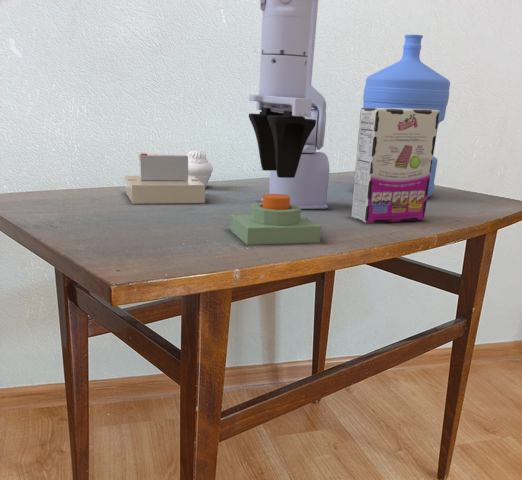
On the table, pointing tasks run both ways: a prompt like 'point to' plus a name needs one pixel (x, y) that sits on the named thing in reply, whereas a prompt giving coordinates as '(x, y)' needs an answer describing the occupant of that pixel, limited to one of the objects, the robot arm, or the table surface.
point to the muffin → (199, 166)
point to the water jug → (409, 88)
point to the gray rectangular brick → (163, 167)
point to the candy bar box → (393, 164)
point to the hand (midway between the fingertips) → (277, 173)
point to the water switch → (275, 226)
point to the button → (276, 201)
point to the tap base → (164, 191)
